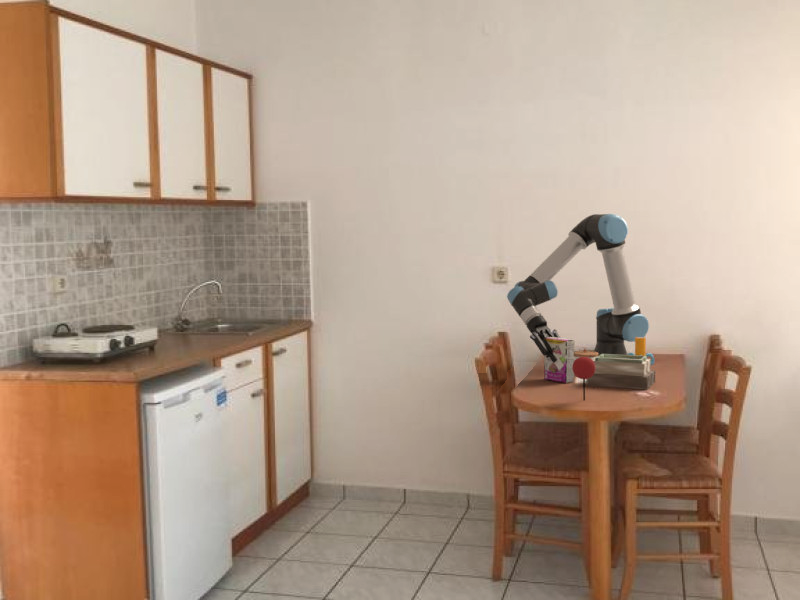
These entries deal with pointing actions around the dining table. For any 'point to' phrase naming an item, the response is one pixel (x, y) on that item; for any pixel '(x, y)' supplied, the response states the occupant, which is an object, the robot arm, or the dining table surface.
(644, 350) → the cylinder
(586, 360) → the lollipop
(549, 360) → the candy bar box
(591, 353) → the lidded jar
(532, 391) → the dining table surface
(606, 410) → the dining table surface
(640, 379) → the tower base
